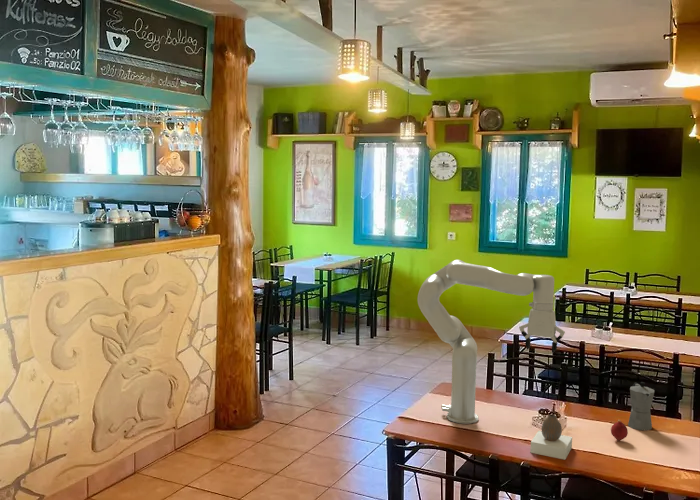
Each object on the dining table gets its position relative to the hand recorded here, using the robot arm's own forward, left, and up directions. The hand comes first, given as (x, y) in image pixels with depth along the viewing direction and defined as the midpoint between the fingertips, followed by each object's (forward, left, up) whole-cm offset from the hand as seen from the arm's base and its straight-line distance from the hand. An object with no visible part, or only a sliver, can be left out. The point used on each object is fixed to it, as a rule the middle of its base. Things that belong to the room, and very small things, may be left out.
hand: (540, 350), depth 260 cm
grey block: (+10, -22, -30) cm, 39 cm away
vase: (+10, -22, -26) cm, 36 cm away
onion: (+30, 0, -31) cm, 43 cm away
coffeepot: (+35, +21, -31) cm, 51 cm away
